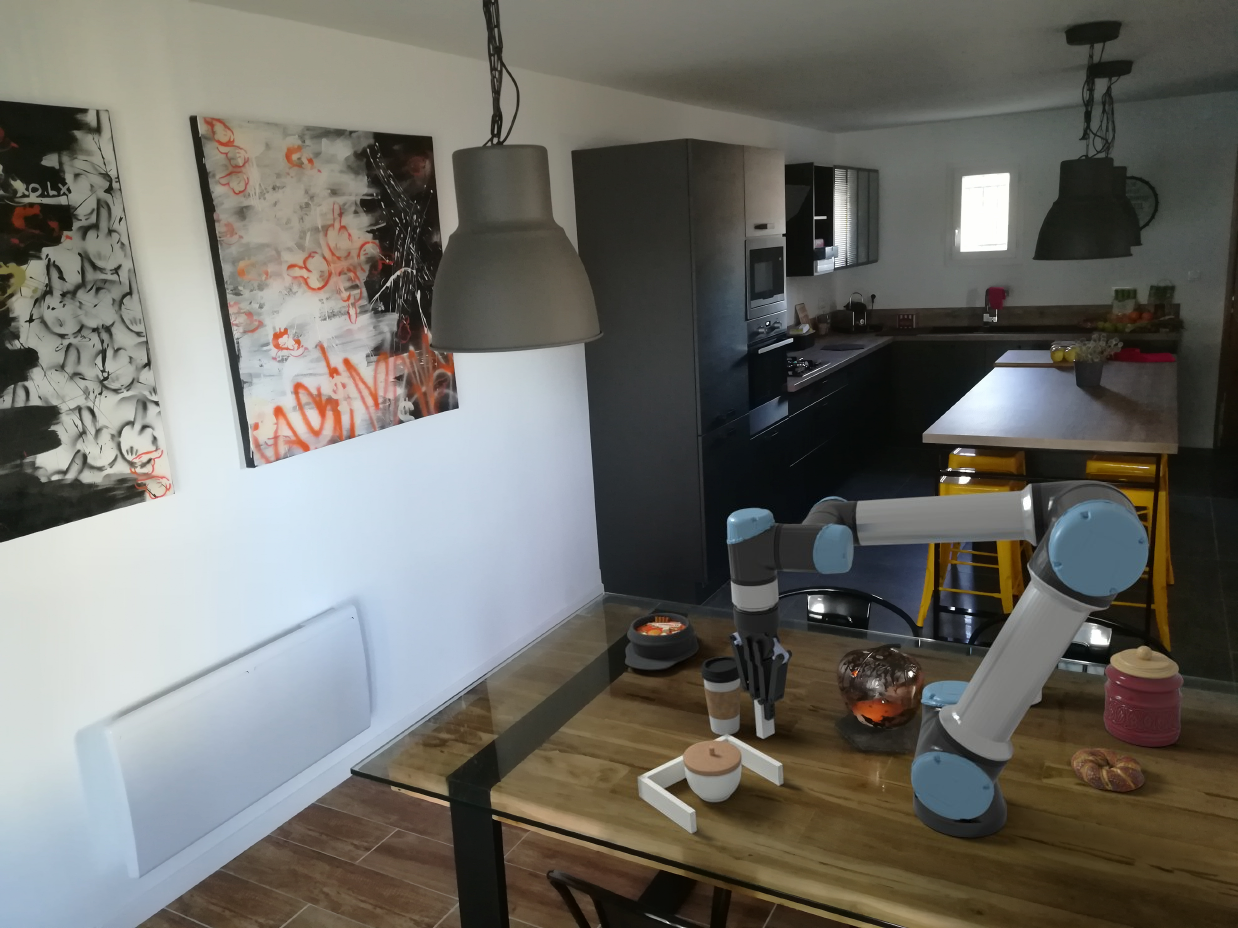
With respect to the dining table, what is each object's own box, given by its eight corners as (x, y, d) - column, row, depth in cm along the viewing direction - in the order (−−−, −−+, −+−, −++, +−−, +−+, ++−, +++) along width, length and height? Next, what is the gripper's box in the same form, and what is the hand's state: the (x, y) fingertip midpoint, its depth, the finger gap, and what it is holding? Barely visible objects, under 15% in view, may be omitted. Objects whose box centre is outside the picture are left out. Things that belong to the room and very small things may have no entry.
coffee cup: (744, 738, 184) (739, 671, 181) (703, 737, 186) (698, 671, 183) (746, 718, 192) (742, 653, 189) (707, 717, 194) (702, 653, 191)
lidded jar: (728, 815, 160) (725, 768, 157) (675, 800, 165) (671, 755, 163) (753, 784, 168) (750, 738, 166) (701, 771, 174) (698, 727, 172)
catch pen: (783, 783, 168) (782, 763, 167) (691, 833, 155) (689, 813, 155) (728, 751, 180) (727, 733, 179) (639, 796, 168) (637, 776, 167)
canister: (1187, 726, 175) (1192, 642, 171) (1171, 755, 166) (1175, 667, 162) (1113, 708, 184) (1116, 627, 180) (1094, 735, 174) (1097, 651, 171)
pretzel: (1057, 775, 163) (1057, 756, 163) (1088, 753, 169) (1088, 735, 169) (1125, 803, 154) (1126, 783, 153) (1156, 778, 160) (1156, 759, 159)
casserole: (647, 631, 242) (645, 602, 240) (713, 638, 234) (711, 608, 232) (608, 672, 220) (605, 640, 218) (679, 681, 212) (676, 648, 210)
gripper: (801, 605, 143) (810, 739, 148) (745, 587, 154) (754, 713, 159) (767, 619, 139) (777, 757, 144) (712, 600, 150) (723, 728, 155)
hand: (765, 733), depth 152 cm, fingers closed
